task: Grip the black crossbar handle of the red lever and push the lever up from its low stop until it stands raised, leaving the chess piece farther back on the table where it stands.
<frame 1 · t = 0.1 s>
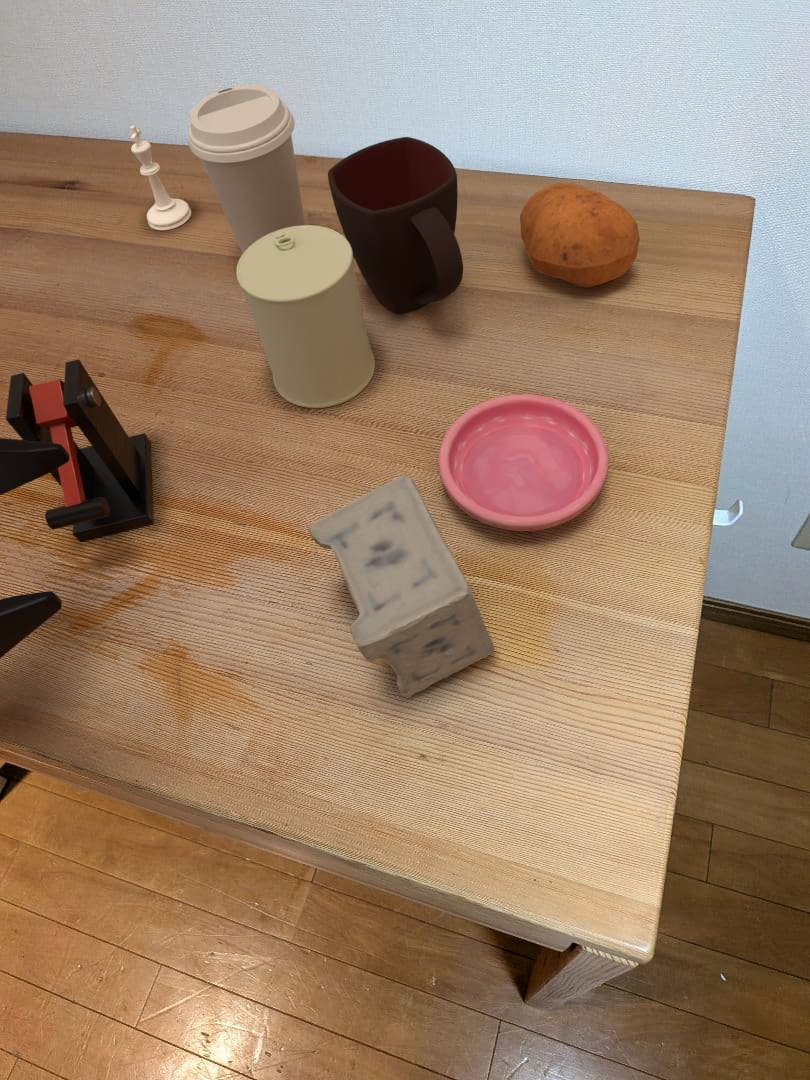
hand: (62, 520, 37), 18 cm above the table, tool horizontal, fingers open, 9 cm apart
coffee cup: (279, 259, 77), on the table
incense holder: (412, 627, 52), on the table
chess piece: (170, 218, 83), on the table
potato: (570, 268, 71), on the table
saucer: (521, 481, 57), on the table
bracket: (116, 489, 61), on the table
can: (324, 372, 67), on the table
lever: (65, 454, 53), point 8 cm above the table, hinge at -28.0°
mug: (417, 304, 70), on the table
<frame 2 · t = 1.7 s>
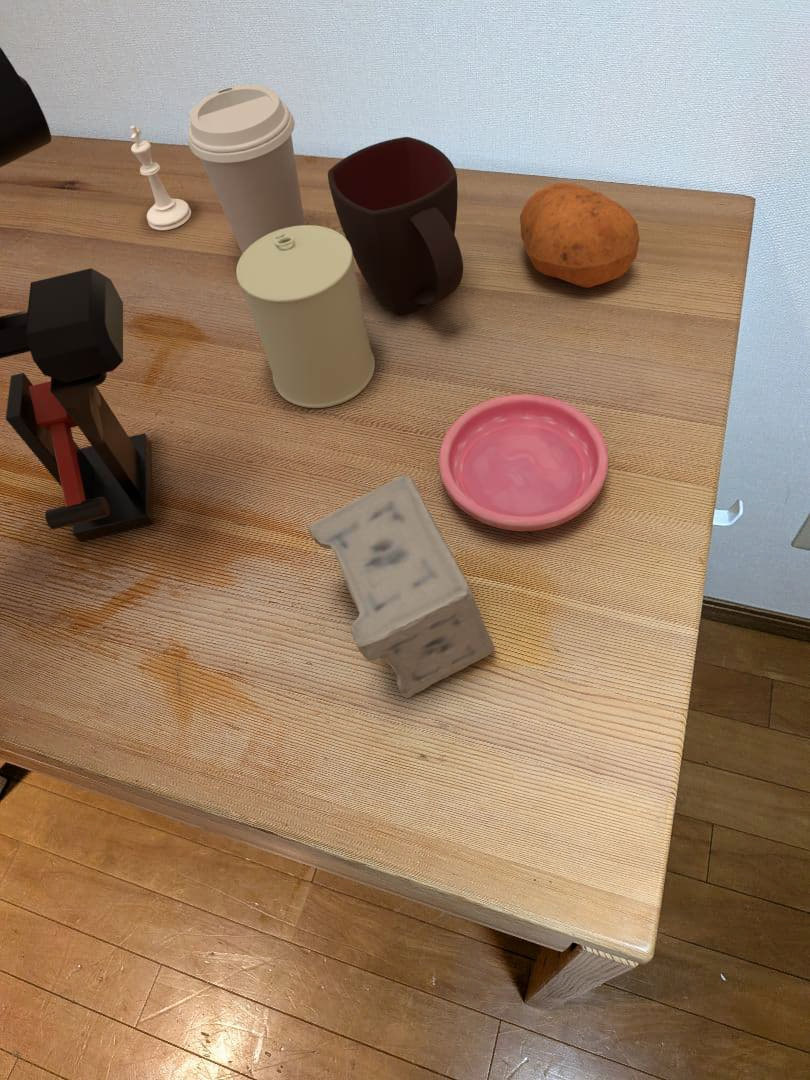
hand: (29, 455, 47), 13 cm above the table, tool pointing down, fingers open, 9 cm apart
nothing on the table moved.
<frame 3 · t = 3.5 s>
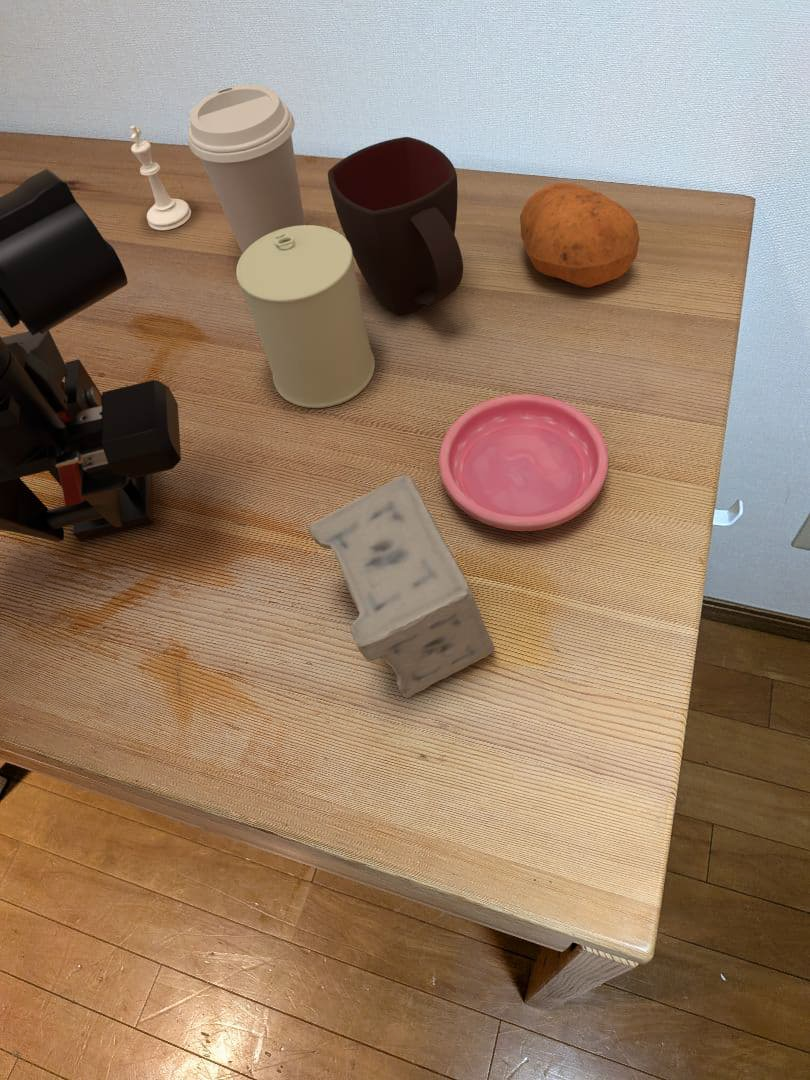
hand: (91, 528, 54), 4 cm above the table, tool pointing down, fingers closed on lever, 4 cm apart
lever: (65, 454, 53), point 8 cm above the table, hinge at -28.0°, touching gripper
everything else where it was.
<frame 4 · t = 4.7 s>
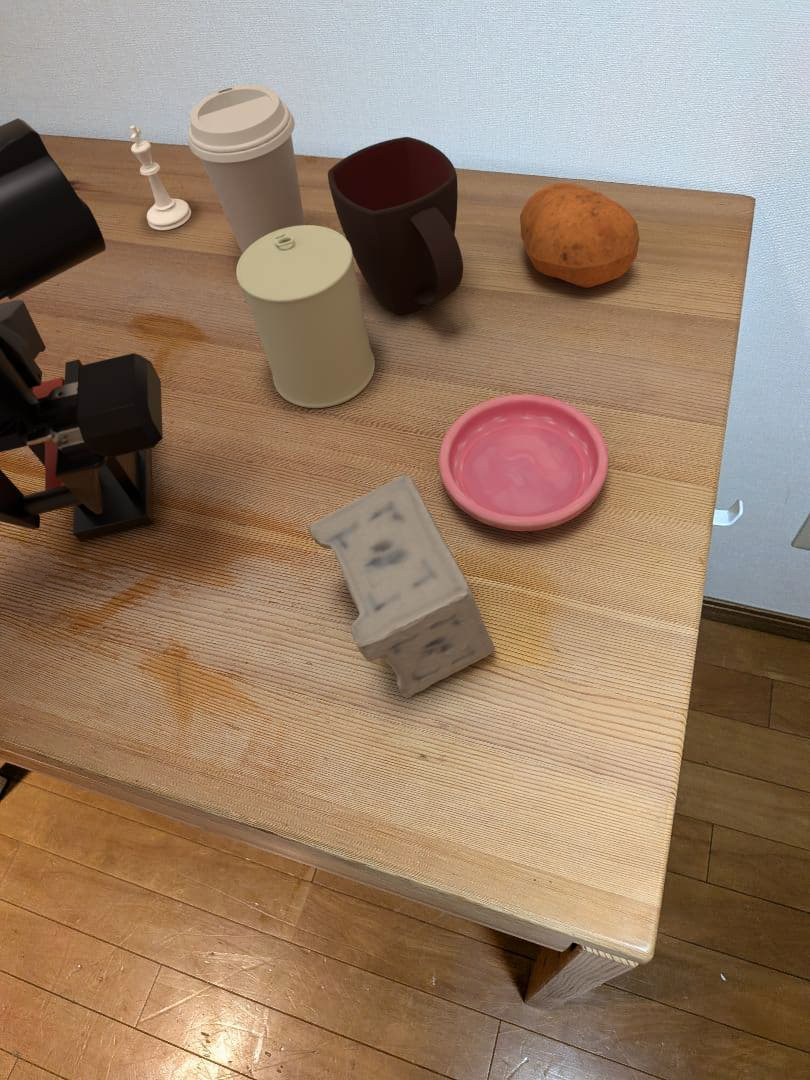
hand: (69, 515, 51), 7 cm above the table, tool pointing down, fingers closed on lever, 4 cm apart
lever: (56, 446, 51), point 10 cm above the table, hinge at -6.2°, touching gripper
everything else where it was.
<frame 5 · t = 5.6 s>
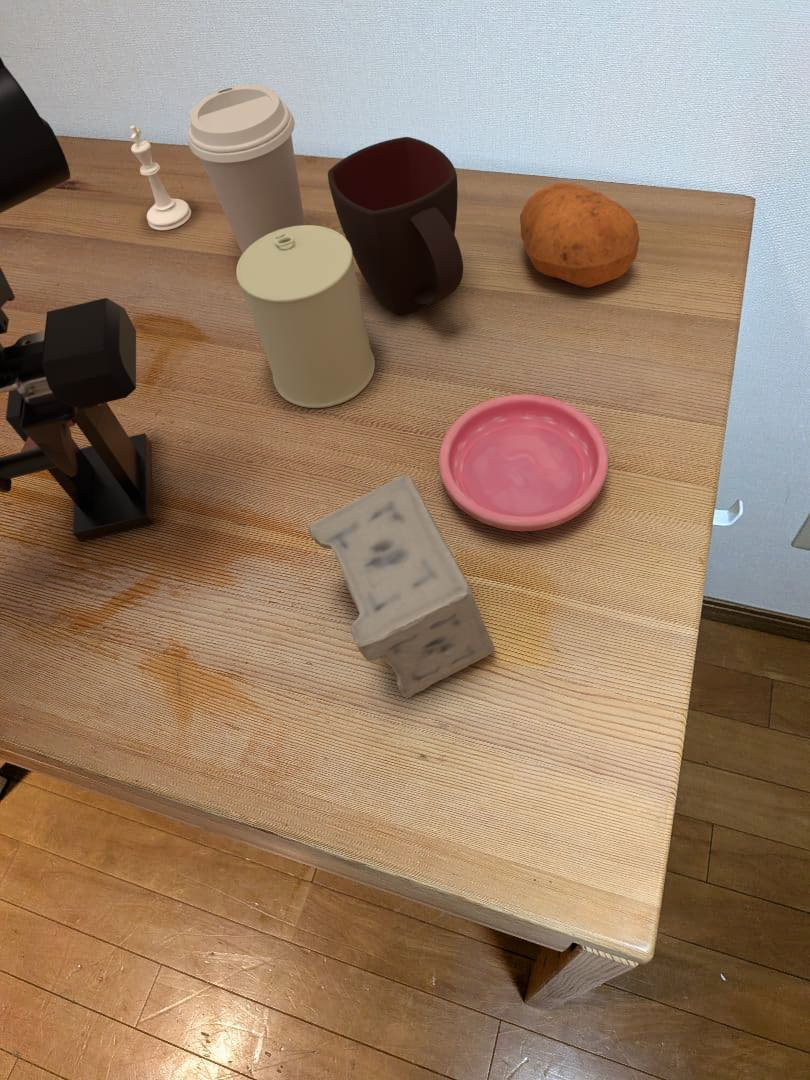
hand: (41, 478, 48), 11 cm above the table, tool pointing down, fingers closed on lever, 4 cm apart
lever: (44, 429, 50), point 11 cm above the table, hinge at 18.6°, touching gripper
everything else where it was.
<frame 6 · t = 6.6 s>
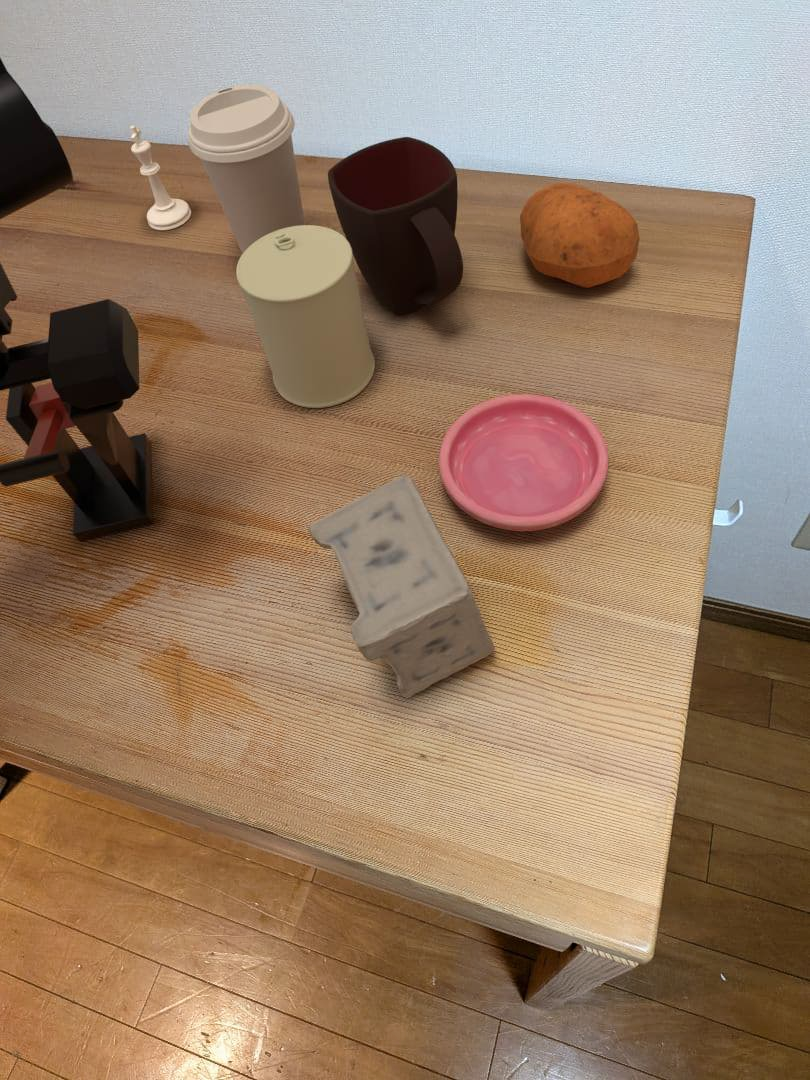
hand: (45, 476, 49), 11 cm above the table, tool pointing down, fingers open, 9 cm apart
lever: (46, 432, 50), point 11 cm above the table, hinge at 15.2°
everything else where it was.
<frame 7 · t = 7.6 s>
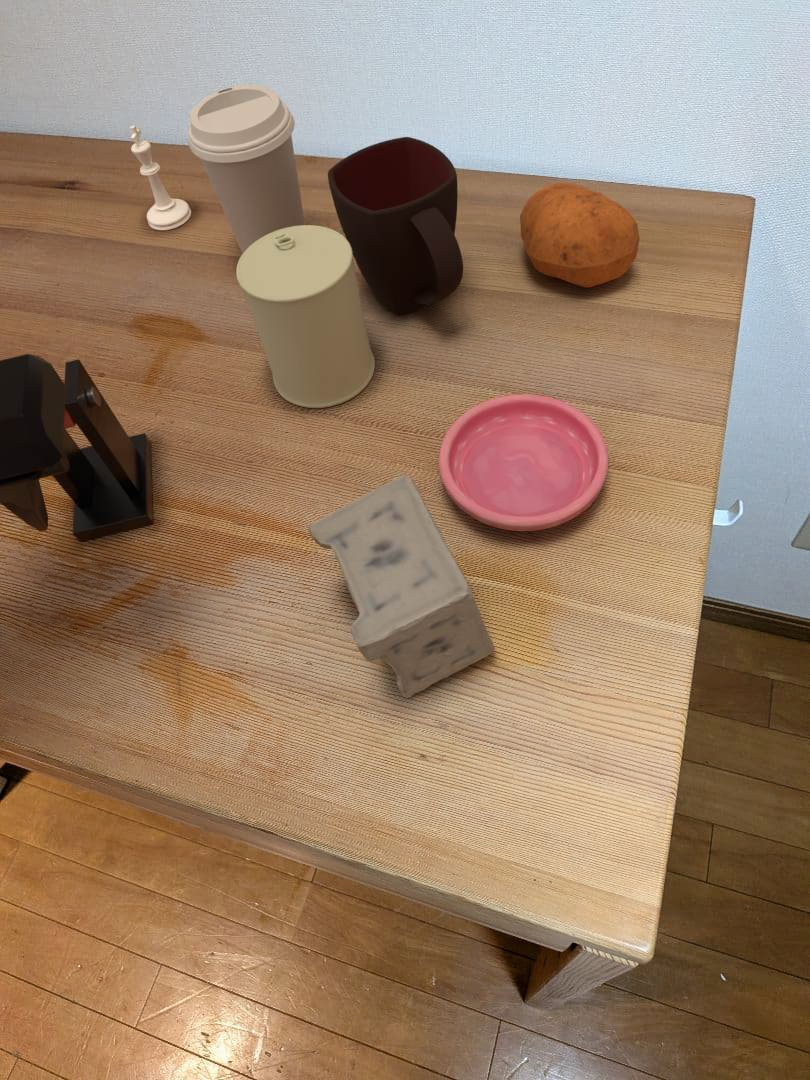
nothing on the table moved.
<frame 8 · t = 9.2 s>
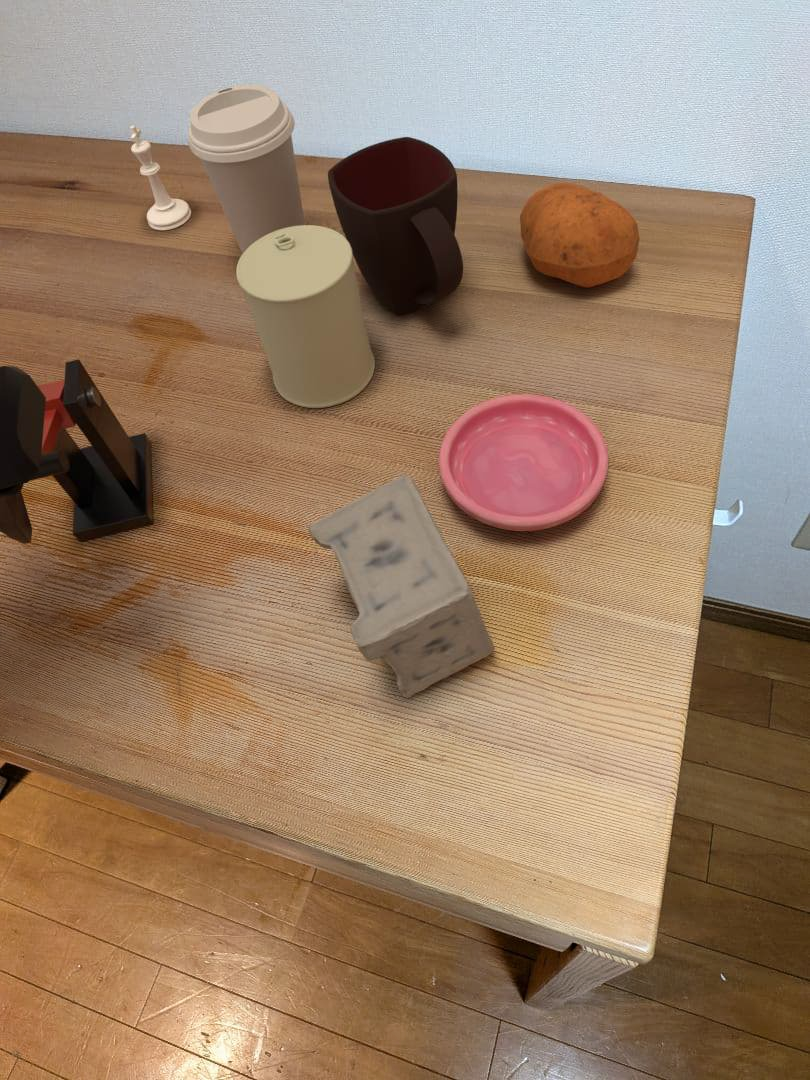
nothing on the table moved.
at the end: lever at +15° (first picture: -28°); chess piece moved 0.2 cm from its start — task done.
